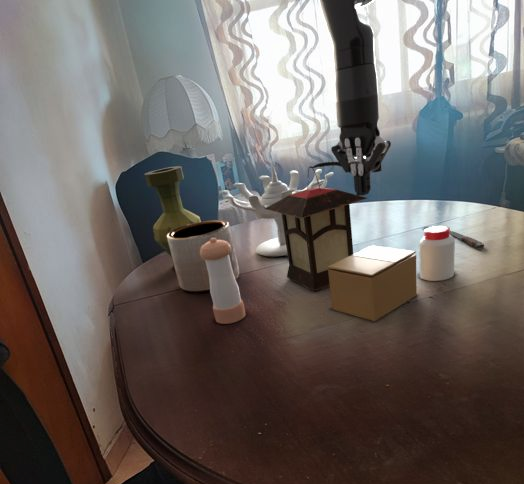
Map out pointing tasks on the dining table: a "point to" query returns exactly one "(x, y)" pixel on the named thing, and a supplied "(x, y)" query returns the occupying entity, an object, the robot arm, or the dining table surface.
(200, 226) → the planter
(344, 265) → the flap
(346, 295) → the carton
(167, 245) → the vase
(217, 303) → the pepper shaker
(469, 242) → the knife
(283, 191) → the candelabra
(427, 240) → the pill bottle
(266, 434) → the dining table surface
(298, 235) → the lantern
